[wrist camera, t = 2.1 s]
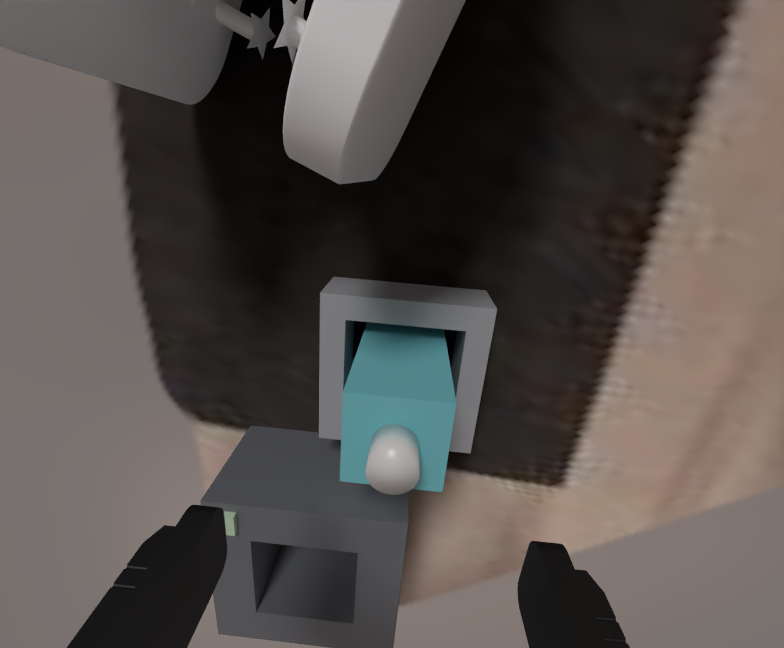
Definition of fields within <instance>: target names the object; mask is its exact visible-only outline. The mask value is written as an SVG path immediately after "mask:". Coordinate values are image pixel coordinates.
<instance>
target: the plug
mask: <svg viewBox="0 0 784 648" xmlns="http://www.w3.org/2000/svg"><path fill="white" fill-rule="evenodd" d="M455 410H456V398H455V392H454V386H453V380H452V374H451V368H450V362H449V356H448V350H447V344H446V338H445V332H444V329H436V328H426V327H415V326H404V325H394V324H383V323H372V322H367V324H366V327H365V330H364V333H363V335H362V338H361V341H360V344H359V347H358V350H357V353H356V356H355V358H354V361H353V364H352V367H351V370H350V373H349V376H348V379H347V381H346V384H345V387H344V390H343V399H342V428H341V457H340V481H342V482H352V483H361V484H370V485H371V486H372V487H373V488H374V489H376V490H378V491H379V492H382V493H385V494H390V495H398V494H403V493H406V492H408V491H410V490H411V489H417V490H426V491H435V492H443V485H444V479H445V473H446V467H447V460H448V454H449V448H450V441H451V435H452V429H453V423H454V416H455Z"/></svg>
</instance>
